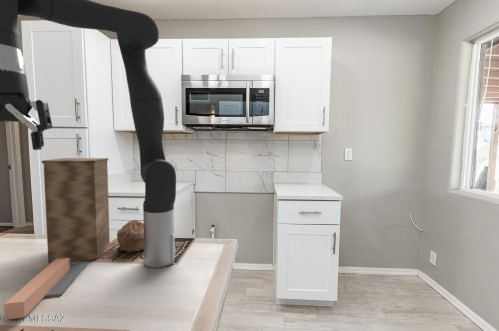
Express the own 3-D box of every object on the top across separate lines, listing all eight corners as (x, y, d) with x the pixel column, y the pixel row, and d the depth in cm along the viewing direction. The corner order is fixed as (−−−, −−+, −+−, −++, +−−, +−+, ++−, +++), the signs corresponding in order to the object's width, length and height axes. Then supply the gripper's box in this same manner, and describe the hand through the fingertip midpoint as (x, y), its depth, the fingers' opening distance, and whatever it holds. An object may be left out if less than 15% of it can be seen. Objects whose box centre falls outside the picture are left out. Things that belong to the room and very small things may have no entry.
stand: (110, 242, 99) (108, 158, 97) (98, 259, 85) (94, 160, 83) (67, 245, 96) (63, 158, 93) (46, 263, 82) (41, 160, 79)
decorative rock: (121, 243, 100) (121, 217, 99) (152, 240, 102) (152, 216, 102) (112, 257, 87) (111, 228, 86) (147, 254, 90) (147, 226, 89)
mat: (88, 263, 82) (88, 261, 82) (61, 295, 65) (61, 293, 65) (64, 265, 81) (64, 263, 81) (31, 299, 63) (30, 296, 63)
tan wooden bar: (69, 269, 77) (69, 257, 77) (24, 317, 56) (23, 301, 56) (56, 270, 76) (55, 258, 76) (5, 319, 55) (4, 303, 55)
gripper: (51, 76, 58) (60, 148, 60) (-28, 74, 55) (-15, 151, 57) (33, 68, 51) (44, 150, 53) (-59, 65, 48) (-43, 154, 50)
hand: (13, 150), depth 55 cm, fingers open, 8 cm apart
